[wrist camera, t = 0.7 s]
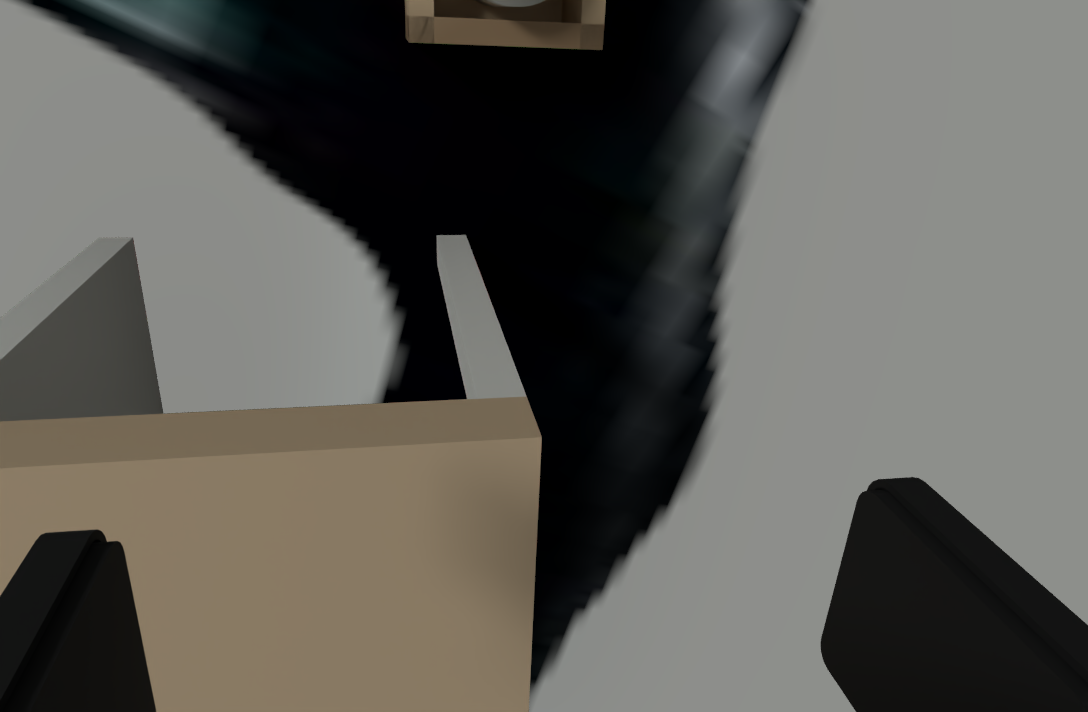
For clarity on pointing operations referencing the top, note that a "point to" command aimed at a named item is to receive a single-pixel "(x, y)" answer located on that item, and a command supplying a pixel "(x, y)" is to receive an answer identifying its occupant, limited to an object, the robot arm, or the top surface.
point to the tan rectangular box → (282, 510)
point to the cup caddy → (507, 23)
